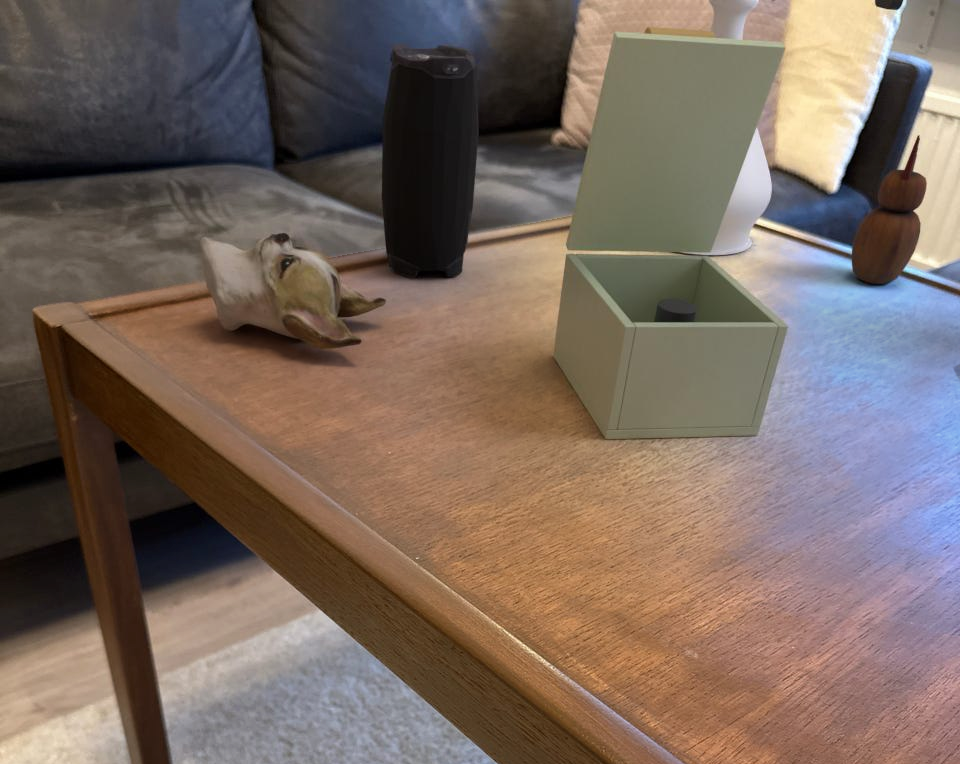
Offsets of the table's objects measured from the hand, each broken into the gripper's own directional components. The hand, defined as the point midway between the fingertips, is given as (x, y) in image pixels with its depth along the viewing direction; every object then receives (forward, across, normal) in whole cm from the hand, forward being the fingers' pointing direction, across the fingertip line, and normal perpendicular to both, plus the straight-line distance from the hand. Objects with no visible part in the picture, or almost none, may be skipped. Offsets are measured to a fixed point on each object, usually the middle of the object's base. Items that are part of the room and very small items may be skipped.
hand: (826, 3), depth 62 cm
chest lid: (+11, -5, +9) cm, 15 cm away
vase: (+28, +15, +47) cm, 57 cm away
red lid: (+27, -5, +2) cm, 28 cm away
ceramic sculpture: (+28, -34, +17) cm, 47 cm away
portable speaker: (+28, -19, +34) cm, 48 cm away
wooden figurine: (+28, +32, +32) cm, 53 cm away
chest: (+28, -5, +4) cm, 29 cm away
